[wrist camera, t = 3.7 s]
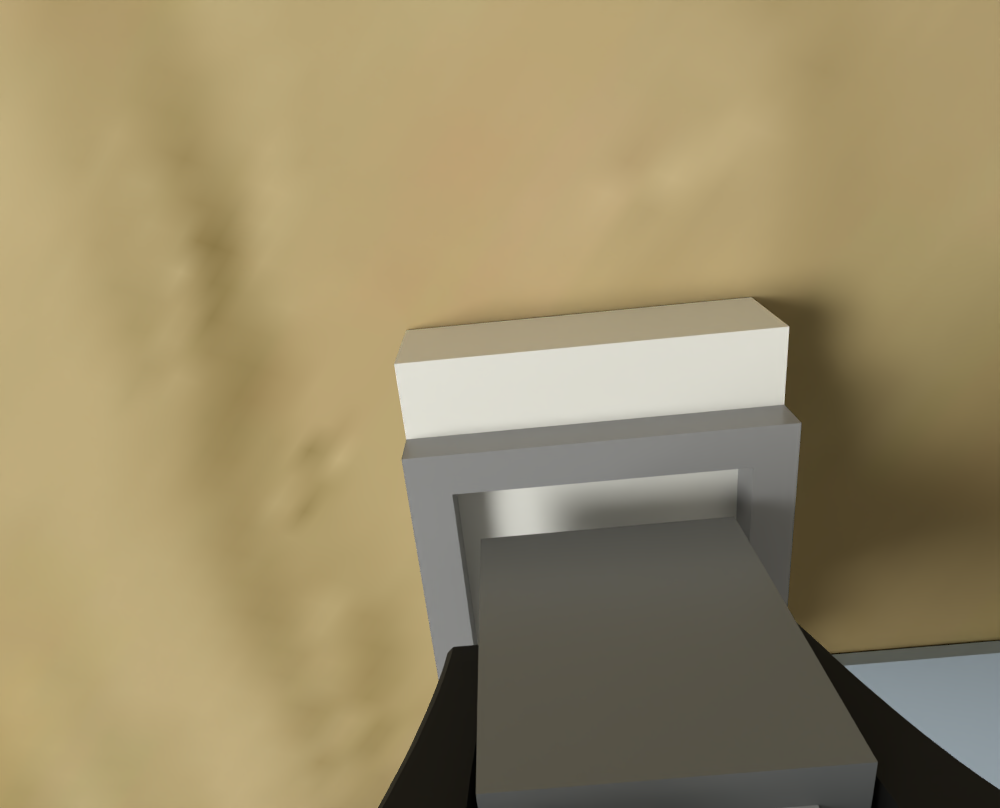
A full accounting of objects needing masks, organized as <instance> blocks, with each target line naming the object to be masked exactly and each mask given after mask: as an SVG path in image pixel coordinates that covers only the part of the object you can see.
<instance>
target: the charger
mask: <svg viewBox="0 0 1000 808" xmlns="http://www.w3.org/2000/svg"><path fill="white" fill-rule="evenodd" d="M877 765H878V761H877V760H876V758H875V756H874V755H873V753H872V751H871V749H870V748H869V746H868V744H867V743H866V741H865V739H864V738H863V736H862V734H861V732H860V731H859V729H858V727H857V726H856V724H855V722H854V720H853V719H852V717H851V715H850V714H849V712H848V710H847V708H846V707H845V705H844V703H843V702H842V700H841V698H840V696H839V695H838V693H837V691H836V690H835V688H834V686H833V684H832V683H831V681H830V679H829V678H828V676H827V674H826V672H825V671H824V669H823V667H822V666H821V664H820V662H819V660H818V659H817V657H816V655H815V654H814V652H813V650H812V648H811V647H810V645H809V643H808V642H807V640H806V638H805V636H804V635H803V633H802V631H801V630H800V628H799V626H798V624H797V623H796V621H795V619H794V618H793V616H792V614H791V612H790V611H789V609H788V607H787V606H786V604H785V602H784V600H783V599H782V597H781V595H780V594H779V592H778V590H777V588H776V587H775V585H774V583H773V582H772V580H771V578H770V577H769V575H768V573H767V571H766V570H765V568H764V566H763V565H762V563H761V561H760V559H759V558H758V556H757V554H756V553H755V551H754V549H753V547H752V546H751V544H750V542H749V541H748V539H747V537H746V535H745V534H744V532H743V530H742V529H741V527H740V525H739V523H738V522H737V520H736V518H735V517H734V516H733V517H722V518H711V519H699V520H688V521H677V522H665V523H654V524H643V525H631V526H620V527H609V528H598V529H586V530H575V531H564V532H552V533H541V534H530V535H518V536H507V537H496V538H484V539H481V544H480V597H479V649H478V702H477V755H476V799H477V806H478V808H871V804H872V798H873V791H874V784H875V778H876V771H877Z"/></svg>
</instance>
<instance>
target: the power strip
mask: <svg viewBox="0 0 1000 808" xmlns="http://www.w3.org/2000/svg"><path fill="white" fill-rule="evenodd" d="M788 339H789V326H788V325H787V324H785V323H784V322H783V321H781V320H780V319H779V318H778V317H776V316H775V315H774V314H772V313H771V312H770V311H769V310H767V309H766V308H765V307H763V306H762V305H761V304H760V303H758V302H757V301H756V300H754V299H753V298H752V297H748V298H738V299H727V300H717V301H706V302H696V303H685V304H675V305H665V306H654V307H644V308H633V309H623V310H613V311H602V312H592V313H581V314H571V315H561V316H550V317H540V318H529V319H519V320H508V321H498V322H488V323H477V324H467V325H456V326H446V327H436V328H425V329H415V330H406V332H405V335H404V338H403V340H402V343H401V346H400V349H399V352H398V355H397V357H396V360H395V363H394V366H395V372H396V379H397V385H398V391H399V397H400V403H401V409H402V415H403V421H404V428H405V434H406V443H405V447H404V452H403V456H402V465H403V470H404V476H405V482H406V488H407V494H408V500H409V506H410V512H411V518H412V524H413V530H414V536H415V542H416V548H417V554H418V560H419V566H420V572H421V577H422V583H423V589H424V595H425V601H426V607H427V613H428V619H429V625H430V631H431V637H432V643H433V649H434V655H435V661H436V667H437V673H438V679H440V676H441V673H442V670H443V667H444V663H445V660H446V656H447V653H448V652H449V651H450V650H451V649H452V648H453V647H457V646H469V645H479V597H480V544H481V539H484V538H496V537H507V536H518V535H530V534H541V533H552V532H564V531H575V530H586V529H598V528H609V527H620V526H631V525H643V524H654V523H665V522H677V521H688V520H699V519H711V518H722V517H733V516H734V517H735V518H736V520H737V522H738V523H739V525H740V527H741V529H742V530H743V532H744V534H745V535H746V537H747V539H748V541H749V542H750V544H751V546H752V547H753V549H754V551H755V553H756V554H757V556H758V558H759V559H760V561H761V563H762V565H763V566H764V568H765V570H766V571H767V573H768V575H769V577H770V578H771V580H772V582H773V583H774V585H775V587H776V588H777V590H778V592H779V594H780V595H781V597H782V599H783V600H784V602H785V604H786V606H788V593H789V580H790V567H791V554H792V541H793V527H794V514H795V501H796V488H797V475H798V462H799V449H800V436H801V422H800V421H799V420H798V419H797V418H796V417H795V415H794V414H793V413H792V412H791V411H790V410H789V409H788V408H787V407H786V406H785V405H784V400H785V385H786V370H787V354H788Z"/></svg>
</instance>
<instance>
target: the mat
mask: <svg viewBox="0 0 1000 808" xmlns="http://www.w3.org/2000/svg"><path fill="white" fill-rule="evenodd" d="M832 656H834V657H835V658H836V659H837V660H838V661H839V662H840V663H841V664H842V665H844V666H845V667H846V668H847V669H848V670H849V671H850V672H851V673H852V674H854V675H855V676H856V677H857V678H858V679H859V680H860V681H861V682H863V683H864V684H865V685H866V686H867V687H868V688H869V689H871V690H872V691H873V692H874V693H875V694H876V695H878V696H879V697H880V698H881V699H882V700H884V701H885V702H886V703H887V704H888V705H889V706H891V707H892V708H893V709H894V710H895V711H897V712H898V713H899V714H900V715H901V716H902V717H904V718H905V719H906V720H907V721H909V722H910V723H911V724H912V725H913V726H915V727H916V728H917V729H918V730H920V731H921V732H922V733H923V734H925V735H926V736H927V737H929V738H930V739H931V740H932V741H934V742H935V743H936V744H938V745H939V746H940V747H942V748H943V749H944V750H945V751H947V752H948V753H949V754H951V755H952V756H953V757H955V758H956V759H957V760H959V761H960V762H961V763H963V764H964V765H965V766H967V767H968V768H970V769H971V770H972V771H974V772H975V773H976V774H978V775H979V776H981V777H982V778H984V779H985V780H986V781H988V782H989V783H991V784H992V785H994V786H995V787H997V788H998V789H1000V641H990V642H978V643H966V644H954V645H942V646H930V647H918V648H906V649H894V650H882V651H870V652H858V653H846V654H834V655H832Z"/></svg>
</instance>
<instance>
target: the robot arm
mask: <svg viewBox="0 0 1000 808" xmlns="http://www.w3.org/2000/svg"><path fill="white" fill-rule="evenodd" d="M798 626H799V628H800V630H801V631H802V633H803V635H804V636H805V638H806V640H807V642H808V643H809V645H810V647H811V648H812V650H813V652H814V654H815V655H816V657H817V659H818V660H819V662H820V664H821V666H822V667H823V669H824V671H825V672H826V674H827V676H828V678H829V679H830V681H831V683H832V684H833V686H834V688H835V690H836V691H837V693H838V695H839V696H840V698H841V700H842V702H843V703H844V705H845V707H846V708H847V710H848V712H849V714H850V715H851V717H852V719H853V720H854V722H855V724H856V726H857V727H858V729H859V731H860V732H861V734H862V736H863V738H864V739H865V741H866V743H867V744H868V746H869V748H870V749H871V751H872V753H873V755H874V756H875V758H876V760H877V761H878V765H877V771H876V778H875V784H874V791H873V798H872V804H871V808H1000V789H998V788H997V787H995V786H994V785H992V784H991V783H989V782H988V781H986V780H985V779H984V778H982V777H981V776H979V775H978V774H976V773H975V772H974V771H972V770H971V769H970V768H968V767H967V766H965V765H964V764H963V763H961V762H960V761H959V760H957V759H956V758H955V757H953V756H952V755H951V754H949V753H948V752H947V751H945V750H944V749H943V748H942V747H940V746H939V745H938V744H936V743H935V742H934V741H932V740H931V739H930V738H929V737H927V736H926V735H925V734H923V733H922V732H921V731H920V730H918V729H917V728H916V727H915V726H913V725H912V724H911V723H910V722H909V721H907V720H906V719H905V718H904V717H902V716H901V715H900V714H899V713H898V712H897V711H895V710H894V709H893V708H892V707H891V706H889V705H888V704H887V703H886V702H885V701H884V700H882V699H881V698H880V697H879V696H878V695H876V694H875V693H874V692H873V691H872V690H871V689H869V688H868V687H867V686H866V685H865V684H864V683H863V682H861V681H860V680H859V679H858V678H857V677H856V676H855V675H854V674H852V673H851V672H850V671H849V670H848V669H847V668H846V667H845V666H844V665H842V664H841V663H840V662H839V661H838V660H837V659H836V658H835V657H834V656H832V655H831V654H830V653H829V652H828V651H827V650H826V649H825V648H824V647H823V646H822V645H820V644H819V643H818V642H817V641H816V640H815V639H814V638H813V637H812V636H811V635H810V634H808V633H807V632H806V631H805V630H804V629H803V628H802V627H801V626H800V625H799V624H798ZM478 649H479V645H469V646H457V647H453V648H452V649H451V650H450V651H449V652H448V653H447V656H446V660H445V663H444V667H443V670H442V673H441V676H440V679H439V681H438V684H437V687H436V689H435V692H434V694H433V697H432V699H431V702H430V704H429V707H428V709H427V712H426V714H425V716H424V718H423V720H422V723H421V725H420V727H419V729H418V731H417V733H416V736H415V738H414V740H413V742H412V744H411V747H410V749H409V751H408V753H407V755H406V757H405V759H404V761H403V763H402V764H401V766H400V768H399V770H398V772H397V774H396V776H395V778H394V779H393V781H392V783H391V785H390V787H389V789H388V791H387V793H386V794H385V796H384V798H383V800H382V802H381V803H380V805H379V807H378V808H478V806H477V799H476V755H477V702H478Z"/></svg>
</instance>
